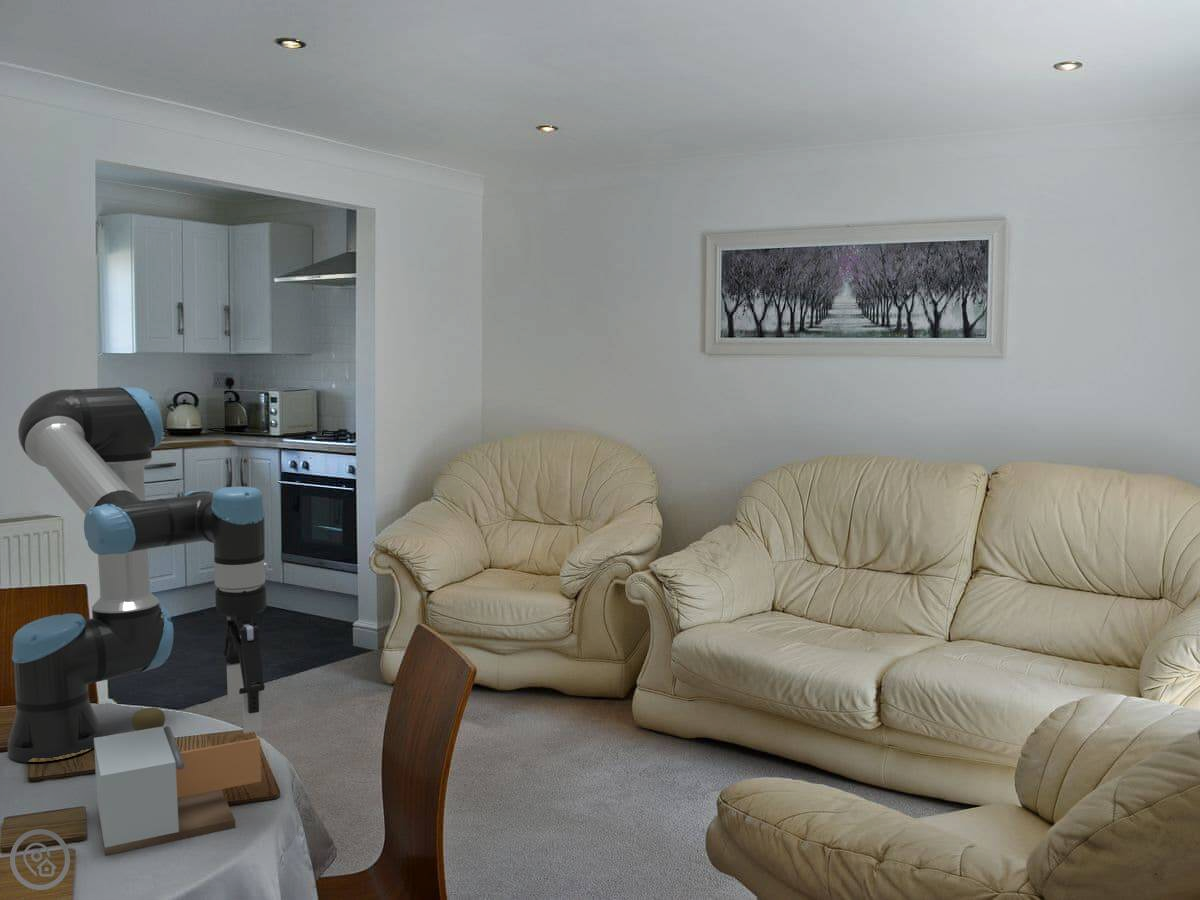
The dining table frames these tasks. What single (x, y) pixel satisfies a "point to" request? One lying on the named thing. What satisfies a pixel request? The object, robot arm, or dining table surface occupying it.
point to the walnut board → (189, 820)
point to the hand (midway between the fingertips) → (244, 716)
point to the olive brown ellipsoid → (148, 719)
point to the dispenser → (137, 784)
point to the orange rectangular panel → (219, 767)
